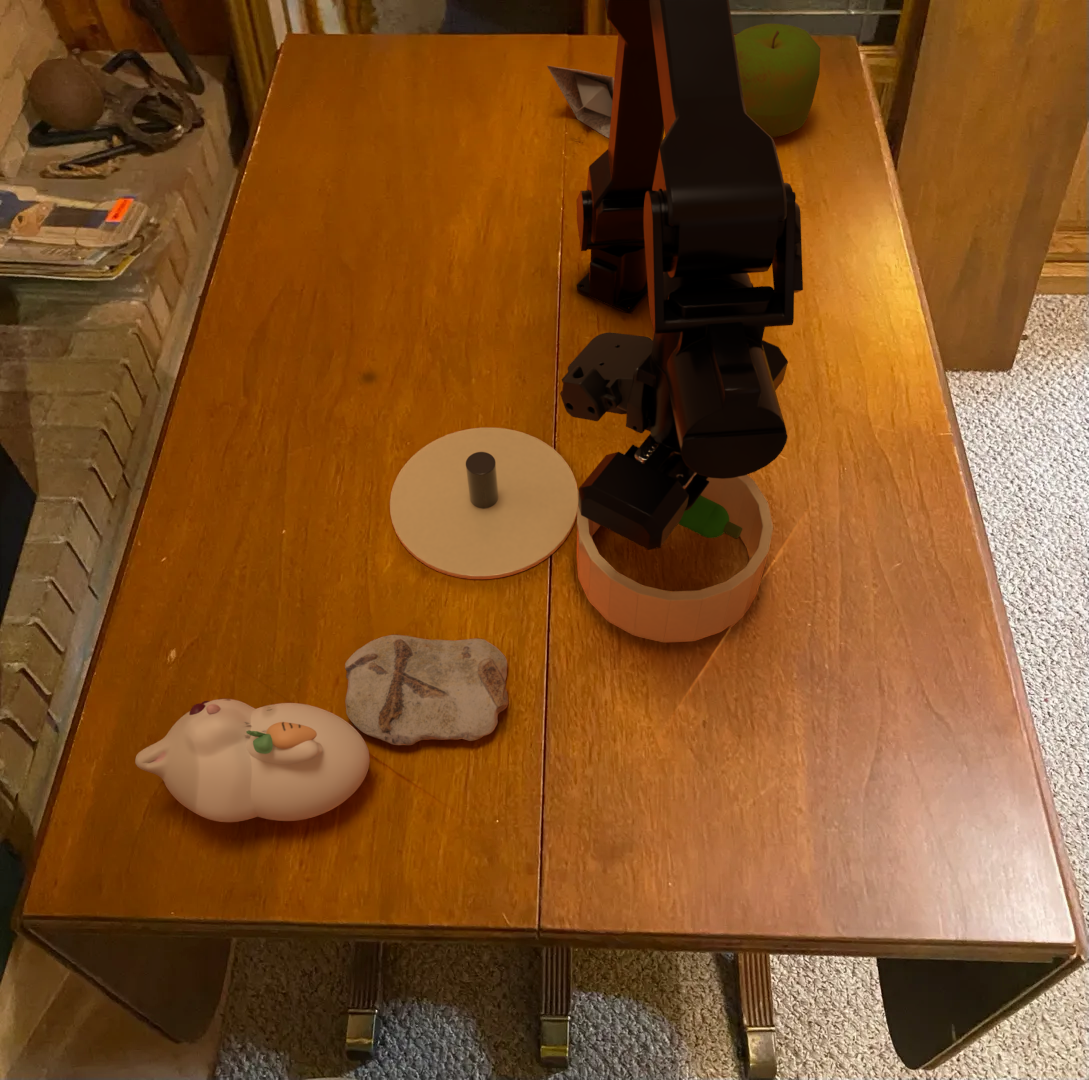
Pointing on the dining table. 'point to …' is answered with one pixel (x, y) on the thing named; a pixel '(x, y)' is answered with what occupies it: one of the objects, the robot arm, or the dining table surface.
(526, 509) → the pot lid
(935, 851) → the dining table surface
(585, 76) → the paper boat
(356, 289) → the dining table surface
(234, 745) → the bunny figurine
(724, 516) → the green zucchini
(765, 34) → the apple
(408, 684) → the stone
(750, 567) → the pot
